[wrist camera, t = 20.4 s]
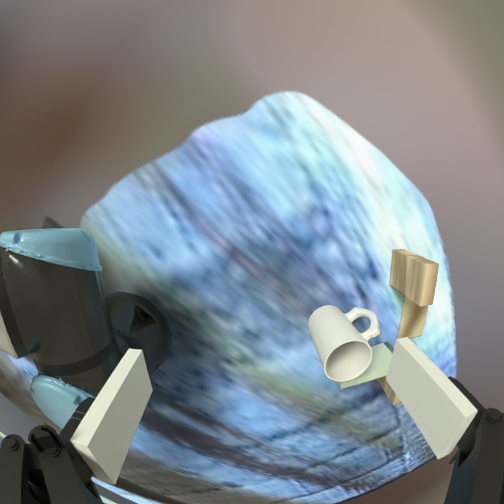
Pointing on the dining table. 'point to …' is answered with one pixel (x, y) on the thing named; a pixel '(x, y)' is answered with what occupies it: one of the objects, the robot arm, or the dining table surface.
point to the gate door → (374, 365)
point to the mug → (342, 341)
